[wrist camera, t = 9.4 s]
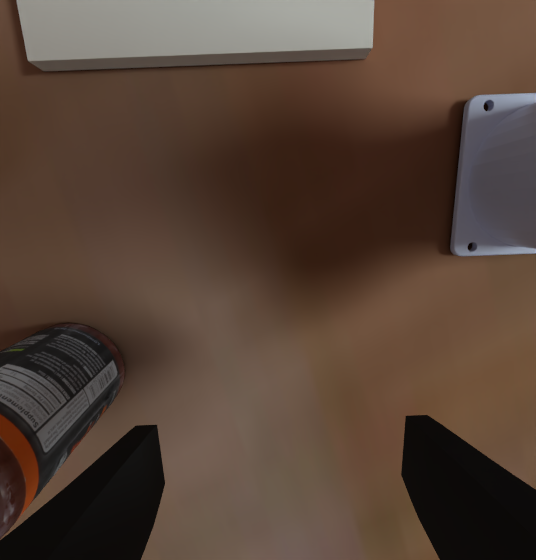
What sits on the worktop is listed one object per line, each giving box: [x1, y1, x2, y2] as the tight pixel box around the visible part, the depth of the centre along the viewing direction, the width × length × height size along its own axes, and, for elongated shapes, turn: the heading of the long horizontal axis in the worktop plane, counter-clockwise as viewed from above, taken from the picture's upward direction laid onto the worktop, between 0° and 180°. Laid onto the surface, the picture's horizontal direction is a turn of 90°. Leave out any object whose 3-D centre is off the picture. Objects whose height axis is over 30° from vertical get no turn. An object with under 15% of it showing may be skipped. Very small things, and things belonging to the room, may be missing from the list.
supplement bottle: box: [0, 323, 125, 538], centre depth 13 cm, size 6×6×11 cm
